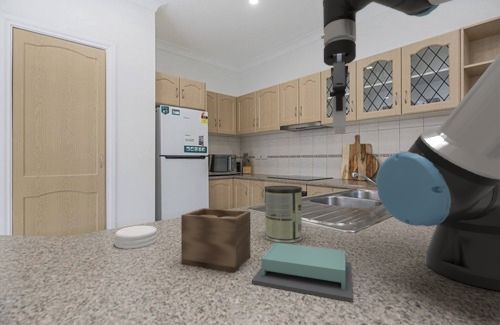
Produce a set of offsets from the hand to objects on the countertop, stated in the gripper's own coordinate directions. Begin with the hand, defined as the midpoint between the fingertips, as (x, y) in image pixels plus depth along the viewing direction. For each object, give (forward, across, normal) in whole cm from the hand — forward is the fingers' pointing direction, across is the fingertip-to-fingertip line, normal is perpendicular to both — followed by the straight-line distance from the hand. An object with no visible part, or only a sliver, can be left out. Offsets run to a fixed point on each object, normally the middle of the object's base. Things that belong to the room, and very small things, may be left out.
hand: (339, 130), depth 60 cm
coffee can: (+29, -3, -15) cm, 33 cm away
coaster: (+29, +15, -50) cm, 60 cm away
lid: (+27, +18, -6) cm, 33 cm away
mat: (+29, +18, -6) cm, 34 cm away
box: (+29, +18, -24) cm, 42 cm away
